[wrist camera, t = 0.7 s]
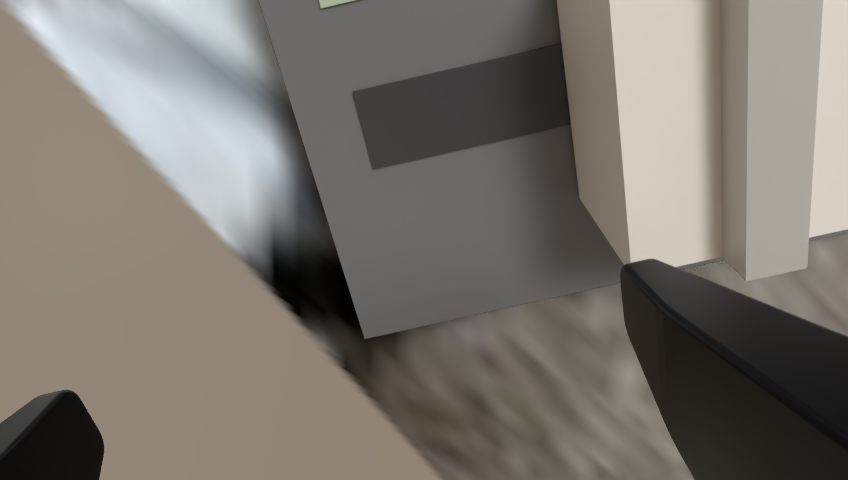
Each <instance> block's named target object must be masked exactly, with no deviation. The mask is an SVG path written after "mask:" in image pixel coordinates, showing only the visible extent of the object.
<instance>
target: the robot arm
mask: <svg viewBox="0 0 848 480" xmlns="http://www.w3.org/2000/svg"><path fill="white" fill-rule="evenodd" d="M620 281H621V292H622V302H623V312H624V321H625V326H626V330H627V333H628V336H629V338H630V341H631V343H632V346H633V348H634V350H635V353H636V355H637V358H638V360H639V362H640V365H641V367H642V370H643V372H644V374H645V377H646V379H647V382H648V384H649V386H650V389H651V391H652V394H653V396H654V398H655V401H656V403H657V406H658V408H659V410H660V413H661V415H662V418H663V420H664V422H665V424H666V427H667V429H668V431H669V433H670V436H671V438H672V439H673V441H674V443H675V445H676V447H677V449H678V451H679V453H680V454H681V456H682V458H683V460H684V461H685V463H686V465H687V467H688V468H689V470H690V472H691V474H692V475H693V477H694V479H695V480H848V336H845V335H843V334H840V333H838V332H835V331H833V330H830V329H828V328H825V327H823V326H820V325H818V324H816V323H813V322H811V321H808V320H806V319H803V318H801V317H798V316H796V315H793V314H791V313H788V312H786V311H783V310H781V309H778V308H776V307H773V306H771V305H768V304H766V303H763V302H761V301H758V300H756V299H753V298H751V297H749V296H746V295H744V294H741V293H739V292H736V291H734V290H731V289H729V288H726V287H724V286H721V285H719V284H716V283H714V282H711V281H709V280H706V279H704V278H701V277H699V276H696V275H694V274H691V273H689V272H686V271H684V270H681V269H679V268H677V267H674V266H672V265H669V264H667V263H664V262H662V261H659V260H656V259H645V260H641V261H637V262H632V263H628V264H625V265H623V266H622V268H621V271H620ZM103 455H104V444H103V439H102V436H101V433H100V432H99V430H98V428H97V426H96V425H95V423H94V421H93V420H92V418H91V416H90V415H89V413H88V411H87V409H86V408H85V406H84V404H83V403H82V401H81V400H80V398H79V396H78V395H77V394H75V393H74V392H73V391H70V390H62V391H57V392H53V393H49V394H44V395H40V396H38V397H36V398H34V399H33V400H32V401H31V402H29V403H28V404H26V405H25V406H24V407H22V408H21V409H19V410H18V411H17V412H16V413H14V414H13V415H12V416H10V417H8V418H7V419H6V420H4V421H3V422H2V423H0V480H99V477H100V472H101V466H102V461H103Z"/></svg>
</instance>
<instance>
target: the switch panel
mask: <svg viewBox="0 0 848 480" xmlns="http://www.w3.org/2000/svg"><path fill="white" fill-rule="evenodd" d="M259 3H260V6H261V10H262V13H263V16H264V19H265V22H266V26H267V29H268V32H269V35H270V38H271V42H272V45H273V48H274V51H275V54H276V58H277V61H278V64H279V67H280V70H281V74H282V77H283V80H284V83H285V86H286V90H287V93H288V96H289V99H290V102H291V105H292V109H293V112H294V115H295V118H296V121H297V125H298V128H299V131H300V134H301V137H302V141H303V144H304V147H305V150H306V153H307V157H308V160H309V163H310V166H311V169H312V173H313V176H314V179H315V182H316V185H317V189H318V192H319V195H320V198H321V201H322V204H323V208H324V211H325V214H326V217H327V220H328V224H329V227H330V230H331V233H332V236H333V240H334V243H335V246H336V249H337V252H338V256H339V259H340V262H341V265H342V268H343V272H344V275H345V278H346V281H347V284H348V287H349V291H350V294H351V297H352V300H353V303H354V307H355V310H356V313H357V316H358V319H359V323H360V326H361V329H362V332H363V335H364V339H367V338H371V337H376V336H381V335H385V334H390V333H394V332H399V331H403V330H408V329H412V328H417V327H422V326H426V325H431V324H435V323H440V322H444V321H449V320H454V319H458V318H463V317H467V316H472V315H476V314H481V313H486V312H490V311H495V310H499V309H504V308H508V307H513V306H517V305H522V304H527V303H531V302H536V301H540V300H545V299H549V298H554V297H559V296H563V295H568V294H572V293H577V292H581V291H586V290H590V289H595V288H600V287H604V286H609V285H613V284H618V283H621V281H620V271H621V268H622V266H623V265H624V264H623V263H622V261H621V260H620V258H619V257H618V255H617V254H616V252H615V251H614V249H613V248H612V246H611V245H610V243H609V242H608V240H607V239H606V237H605V236H604V234H603V233H602V231H601V230H600V228H599V227H598V225H597V224H596V222H595V221H594V219H593V218H592V216H591V215H590V213H589V212H588V210H587V209H586V207H585V206H584V204H583V203H582V201H581V200H580V197H579V189H578V180H577V172H576V163H575V154H574V146H573V137H572V129H571V120H570V112H569V103H568V94H567V86H566V77H565V69H564V60H563V52H562V43H561V34H560V26H559V17H558V9H557V0H259ZM846 233H848V229H847V230H842V231H837V232H833V233H828V234H824V235H819V236H815V237H810V238H809V242H810V241H814V240H819V239H823V238H828V237H832V236H837V235H841V234H846ZM723 260H725V259H724V258H723V257H719V258H714V259H710V260H705V261H701V262H696V263H692V264H687V265H682V266H678V267H677V268H679V269H681V270H682V269H686V268H691V267H695V266H700V265H705V264H709V263H714V262H718V261H723Z"/></svg>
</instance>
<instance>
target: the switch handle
mask: <svg viewBox="0 0 848 480" xmlns="http://www.w3.org/2000/svg"><path fill="white" fill-rule="evenodd" d="M557 9H558V17H559V26H560V34H561V43H562V52H563V60H564V69H565V77H566V86H567V94H568V103H569V112H570V120H571V129H572V137H573V146H574V154H575V163H576V172H577V180H578V189H579V197H580V200H581V201H582V203H583V204H584V206H585V207H586V209H587V210H588V212H589V213H590V215H591V216H592V218H593V219H594V221H595V222H596V224H597V225H598V227H599V228H600V230H601V231H602V233H603V234H604V236H605V237H606V239H607V240H608V242H609V243H610V245H611V246H612V248H613V249H614V251H615V252H616V254H617V255H618V257H619V258H620V260H621V261H622V263H623V264H624V265H625V264H628V263H632V262H637V261H641V260H645V259H656V260H659V261H662V262H664V263H667V264H669V265H672V266H674V267H678V266H682V265H687V264H692V263H696V262H701V261H705V260H710V259H714V258H719V257H723V258H724V259H725V260H726V261H727V262H728V263H729V264H730V265H731V266H732V268H733V269H734V270H735V271H736V272H737V273H738V274H739V275H740V276H741V277H742V278H743V279H744V280H745V281H751V280H755V279H760V278H764V277H769V276H774V275H778V274H783V273H787V272H792V271H797V270H801V269H806V268H807V263H808V246H809V238H810V237H815V236H819V235H824V234H828V233H833V232H837V231H842V230H847V229H848V0H557Z"/></svg>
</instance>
